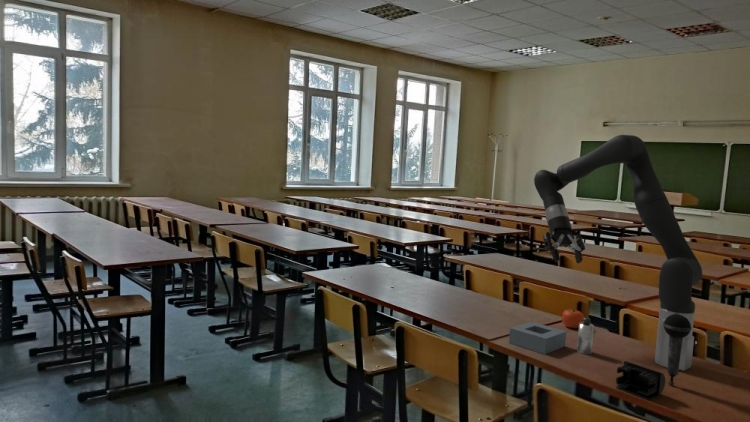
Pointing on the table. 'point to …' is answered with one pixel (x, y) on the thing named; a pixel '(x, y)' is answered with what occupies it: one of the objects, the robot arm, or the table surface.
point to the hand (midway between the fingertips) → (568, 261)
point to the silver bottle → (585, 337)
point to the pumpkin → (572, 318)
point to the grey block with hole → (537, 337)
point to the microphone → (675, 341)
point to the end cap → (640, 381)
